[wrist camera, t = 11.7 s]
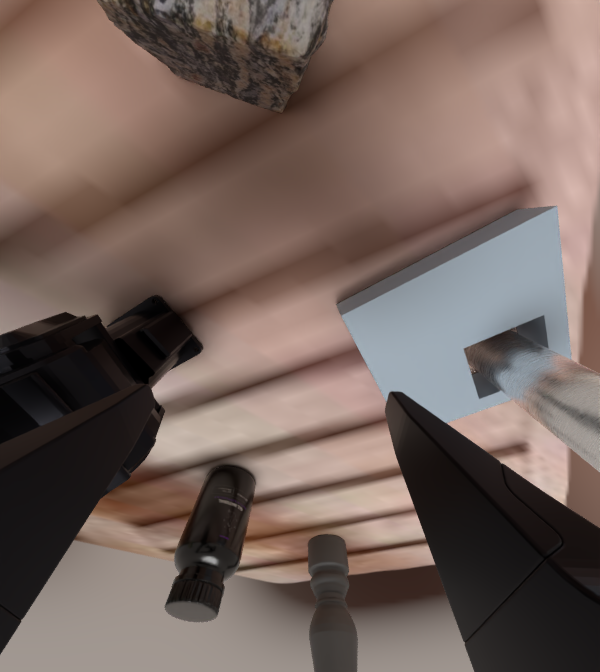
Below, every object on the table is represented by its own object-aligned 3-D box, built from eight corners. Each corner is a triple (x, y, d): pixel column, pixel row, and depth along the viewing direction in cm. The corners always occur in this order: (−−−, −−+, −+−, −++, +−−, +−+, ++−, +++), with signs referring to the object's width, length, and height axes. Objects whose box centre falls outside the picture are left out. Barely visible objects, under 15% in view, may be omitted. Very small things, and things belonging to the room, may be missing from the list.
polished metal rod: (480, 370, 23) (661, 517, 11) (448, 350, 22) (610, 487, 10) (517, 337, 22) (775, 468, 10) (485, 314, 21) (726, 427, 9)
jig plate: (394, 415, 26) (405, 437, 23) (336, 304, 20) (341, 315, 18) (540, 360, 22) (573, 378, 20) (517, 209, 17) (557, 205, 14)
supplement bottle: (252, 463, 30) (222, 597, 19) (259, 495, 33) (236, 628, 22) (200, 464, 30) (141, 597, 19) (211, 495, 33) (166, 627, 22)
